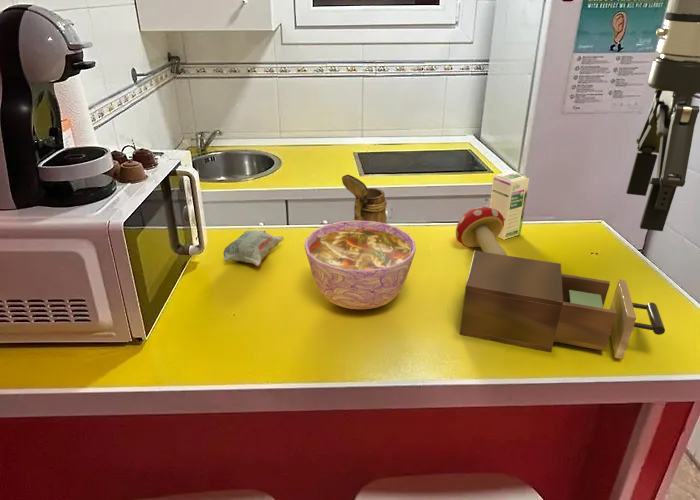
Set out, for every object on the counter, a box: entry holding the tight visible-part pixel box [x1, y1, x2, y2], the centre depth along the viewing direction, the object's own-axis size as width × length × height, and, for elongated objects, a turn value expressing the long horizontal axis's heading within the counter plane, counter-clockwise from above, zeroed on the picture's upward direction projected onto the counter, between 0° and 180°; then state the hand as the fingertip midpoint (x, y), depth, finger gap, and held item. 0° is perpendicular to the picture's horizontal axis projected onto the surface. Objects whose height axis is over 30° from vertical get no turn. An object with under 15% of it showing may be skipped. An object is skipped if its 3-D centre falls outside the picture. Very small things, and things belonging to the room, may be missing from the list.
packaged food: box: [223, 230, 285, 267], centre depth 111 cm, size 9×12×5 cm
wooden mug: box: [341, 174, 388, 224], centre depth 115 cm, size 9×14×18 cm, turn 145°
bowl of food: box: [303, 219, 417, 311], centre depth 96 cm, size 20×20×12 cm
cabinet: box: [459, 250, 563, 353], centre depth 89 cm, size 15×13×10 cm
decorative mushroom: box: [455, 206, 508, 256], centre depth 112 cm, size 11×11×15 cm
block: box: [566, 290, 604, 308], centre depth 86 cm, size 5×5×5 cm
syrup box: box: [489, 170, 530, 241], centre depth 120 cm, size 6×6×14 cm
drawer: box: [554, 273, 666, 360], centre depth 86 cm, size 19×12×8 cm, turn 72°
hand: (642, 210), depth 76 cm, fingers open, 13 cm apart
